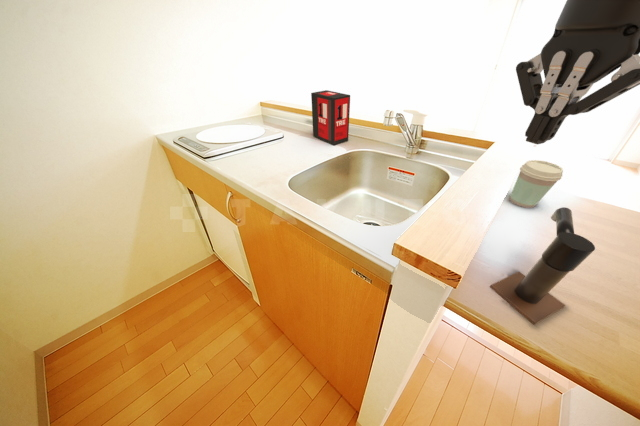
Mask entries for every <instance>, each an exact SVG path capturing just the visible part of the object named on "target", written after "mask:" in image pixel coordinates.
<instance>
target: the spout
mask: <svg viewBox="0 0 640 426" xmlns="http://www.w3.org/2000/svg"><path fill="white" fill-rule="evenodd" d="M573 218H574V217H573V212H572V210H571V209H570V208H569V207H559V208H557V209H555V211H554V212H553V213H552V214H551V216H550V219H551V221H553V222H555V226H556V228H555V229H556V236H555V237H554V239H553V240H552V241H551V243H550V244H549V245H548V246H547V247H546V248H545V250H543V252H542V254H541V257H542V258H543V260H544V261H545V262H546V263H548V264H549V265H550V266H552V267H554V268H556V269H559V270H562V271H570V272H573V271H575V270H576V269H577V268H578V267H579V266H580V265H581V264H582V263H583V262H584V261H585V260H586V259H587V258H588V257H589V256H590V255H591V254H593V252H594V251H595V250H596V246H595V245H594V243H593V242H592V241H590V240H589V239H588V238H586V237H584V236H582V235H579V234H576V233H575V227H574V219H573Z"/></svg>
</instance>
